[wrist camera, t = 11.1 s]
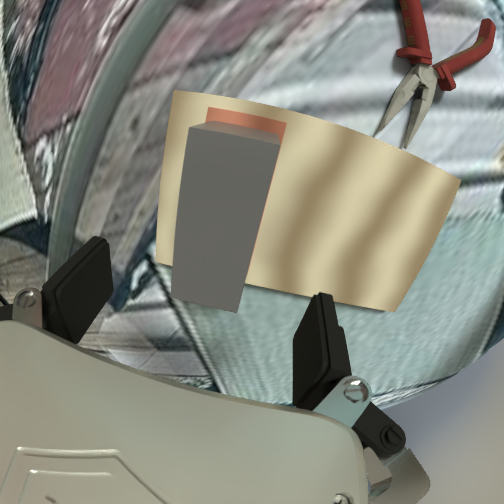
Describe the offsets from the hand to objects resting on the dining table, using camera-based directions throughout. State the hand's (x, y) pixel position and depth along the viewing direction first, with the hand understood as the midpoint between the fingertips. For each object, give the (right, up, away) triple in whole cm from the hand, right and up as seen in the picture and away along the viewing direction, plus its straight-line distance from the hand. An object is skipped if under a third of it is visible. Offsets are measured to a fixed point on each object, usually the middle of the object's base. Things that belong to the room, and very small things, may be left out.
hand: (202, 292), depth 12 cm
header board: (+7, +5, +12) cm, 15 cm away
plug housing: (0, +6, +10) cm, 12 cm away
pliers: (+17, +21, +3) cm, 27 cm away
